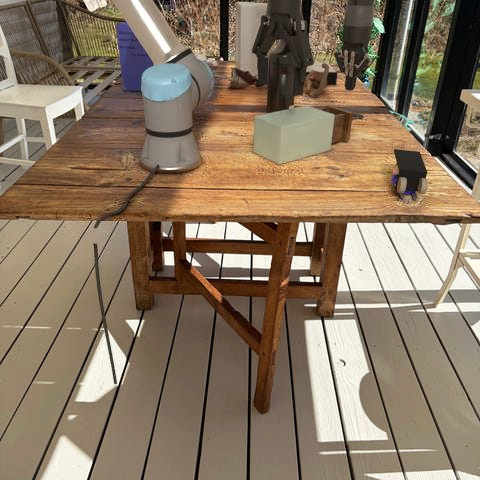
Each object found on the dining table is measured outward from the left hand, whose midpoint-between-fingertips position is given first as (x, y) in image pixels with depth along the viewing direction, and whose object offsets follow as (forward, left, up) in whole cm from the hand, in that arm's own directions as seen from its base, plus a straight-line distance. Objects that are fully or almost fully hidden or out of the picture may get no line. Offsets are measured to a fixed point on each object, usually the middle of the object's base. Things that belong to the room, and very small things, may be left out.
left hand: (279, 89), depth 120 cm
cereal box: (+59, +59, -18) cm, 85 cm away
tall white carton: (+101, +23, -18) cm, 105 cm away
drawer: (+13, -12, -17) cm, 24 cm away
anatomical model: (+69, -6, -18) cm, 71 cm away
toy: (+104, +56, -18) cm, 119 cm away
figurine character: (-15, -32, -18) cm, 40 cm away
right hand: (+19, -18, -4) cm, 27 cm away
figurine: (+72, +21, -18) cm, 76 cm away
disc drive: (+95, -3, -18) cm, 96 cm away
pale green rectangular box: (+4, -4, -18) cm, 18 cm away
